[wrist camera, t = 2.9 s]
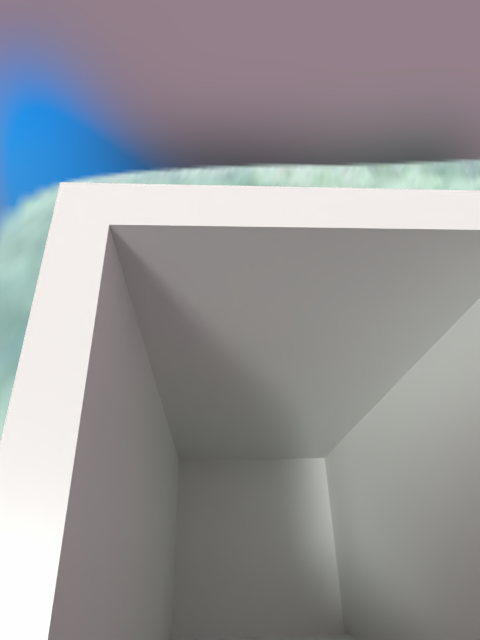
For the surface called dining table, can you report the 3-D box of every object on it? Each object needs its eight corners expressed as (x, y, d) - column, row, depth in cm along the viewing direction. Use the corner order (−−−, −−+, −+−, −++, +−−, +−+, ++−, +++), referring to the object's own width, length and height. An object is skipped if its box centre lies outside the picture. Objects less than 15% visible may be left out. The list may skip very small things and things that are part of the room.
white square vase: (363, 655, 13) (1008, 1005, 2) (151, 664, 13) (-157, 1122, 2) (335, 443, 16) (575, 192, 5) (163, 446, 15) (60, 182, 5)
